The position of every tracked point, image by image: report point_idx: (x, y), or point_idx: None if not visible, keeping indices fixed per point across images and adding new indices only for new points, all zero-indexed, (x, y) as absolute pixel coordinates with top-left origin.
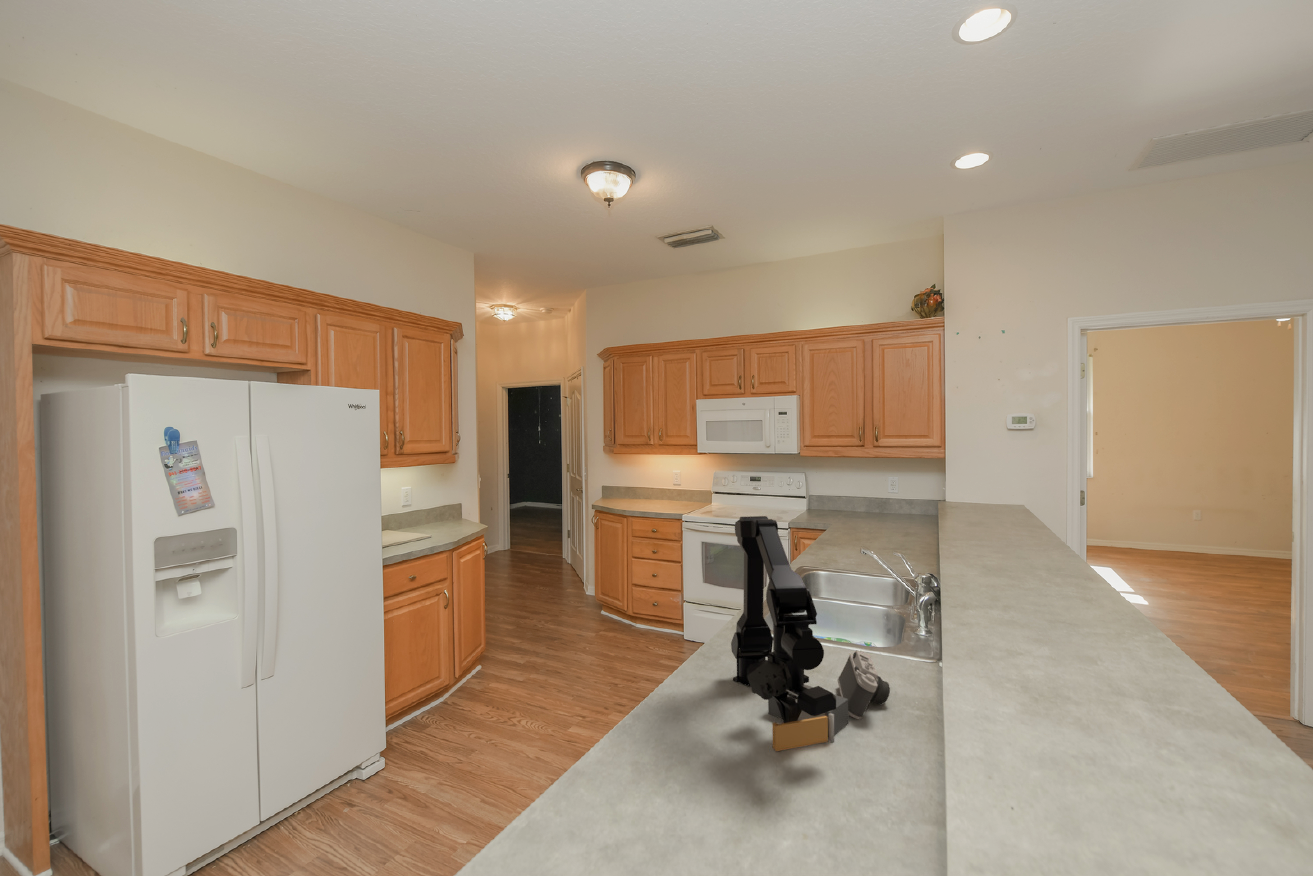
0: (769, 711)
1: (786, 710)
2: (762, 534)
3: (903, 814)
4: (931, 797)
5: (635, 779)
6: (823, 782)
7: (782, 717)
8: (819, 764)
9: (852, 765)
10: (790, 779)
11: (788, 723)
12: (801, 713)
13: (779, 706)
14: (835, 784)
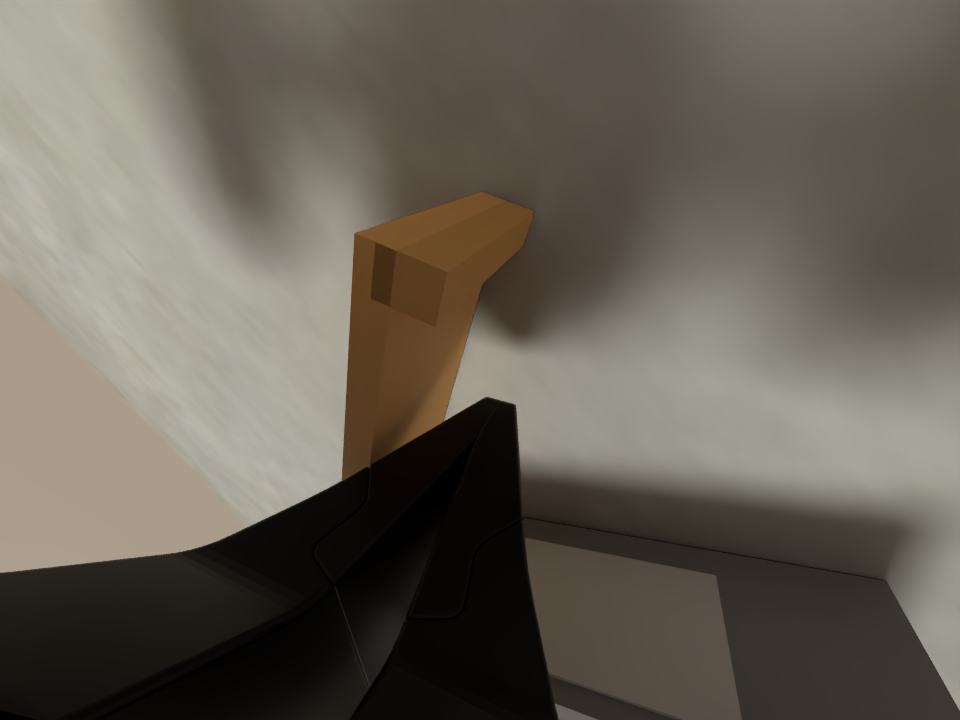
0: (884, 601)
1: (337, 535)
2: None
3: (35, 265)
4: (115, 390)
5: None
6: (171, 185)
7: (500, 471)
8: (295, 302)
9: (261, 390)
10: (201, 4)
11: (358, 399)
12: (568, 607)
13: (485, 594)
14: (158, 222)
